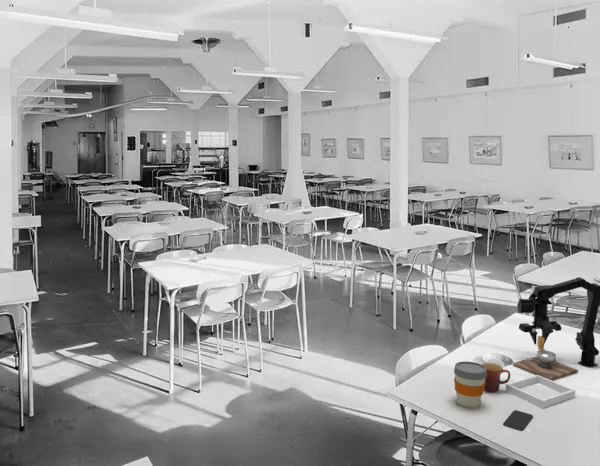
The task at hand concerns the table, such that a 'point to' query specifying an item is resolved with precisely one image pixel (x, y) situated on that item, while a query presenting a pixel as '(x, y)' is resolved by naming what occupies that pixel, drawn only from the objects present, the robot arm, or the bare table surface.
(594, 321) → the robot arm
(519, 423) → the phone
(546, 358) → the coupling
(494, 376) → the mug
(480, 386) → the reusable coffee cup
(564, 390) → the tray frame
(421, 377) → the table surface
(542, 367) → the base plate
